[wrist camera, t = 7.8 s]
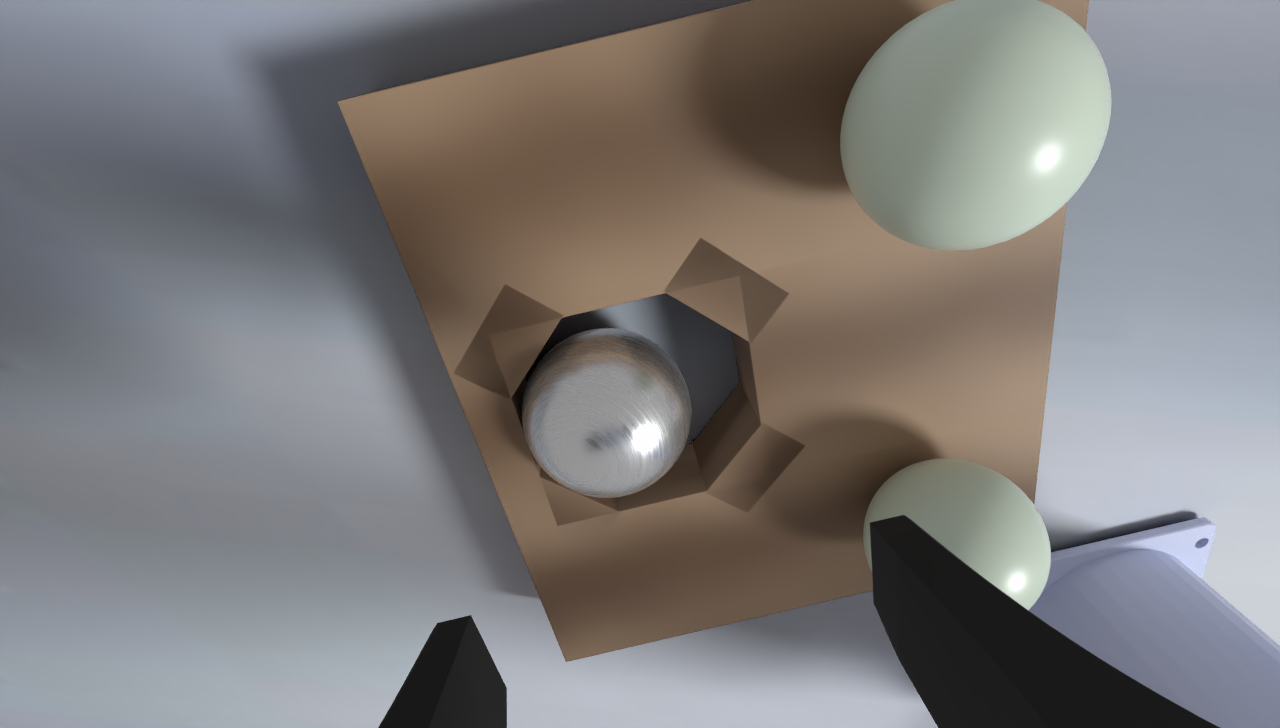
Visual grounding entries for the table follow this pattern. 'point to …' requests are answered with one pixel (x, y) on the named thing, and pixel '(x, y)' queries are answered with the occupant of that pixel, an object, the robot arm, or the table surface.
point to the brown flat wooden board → (707, 301)
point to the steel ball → (606, 413)
